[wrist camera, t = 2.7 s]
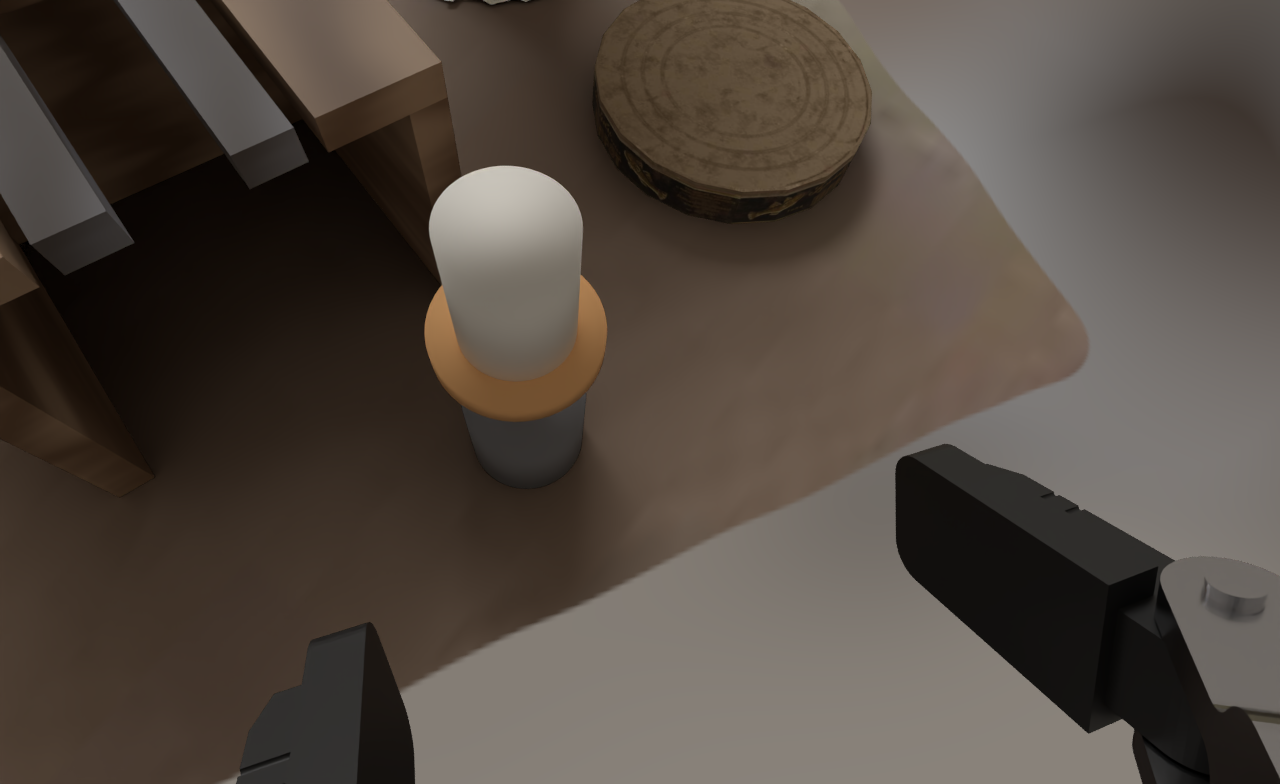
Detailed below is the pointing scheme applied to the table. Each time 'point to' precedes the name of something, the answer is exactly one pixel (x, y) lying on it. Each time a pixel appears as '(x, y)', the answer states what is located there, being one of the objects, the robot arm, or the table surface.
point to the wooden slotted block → (181, 158)
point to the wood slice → (730, 105)
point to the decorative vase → (493, 1)
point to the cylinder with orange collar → (514, 320)
